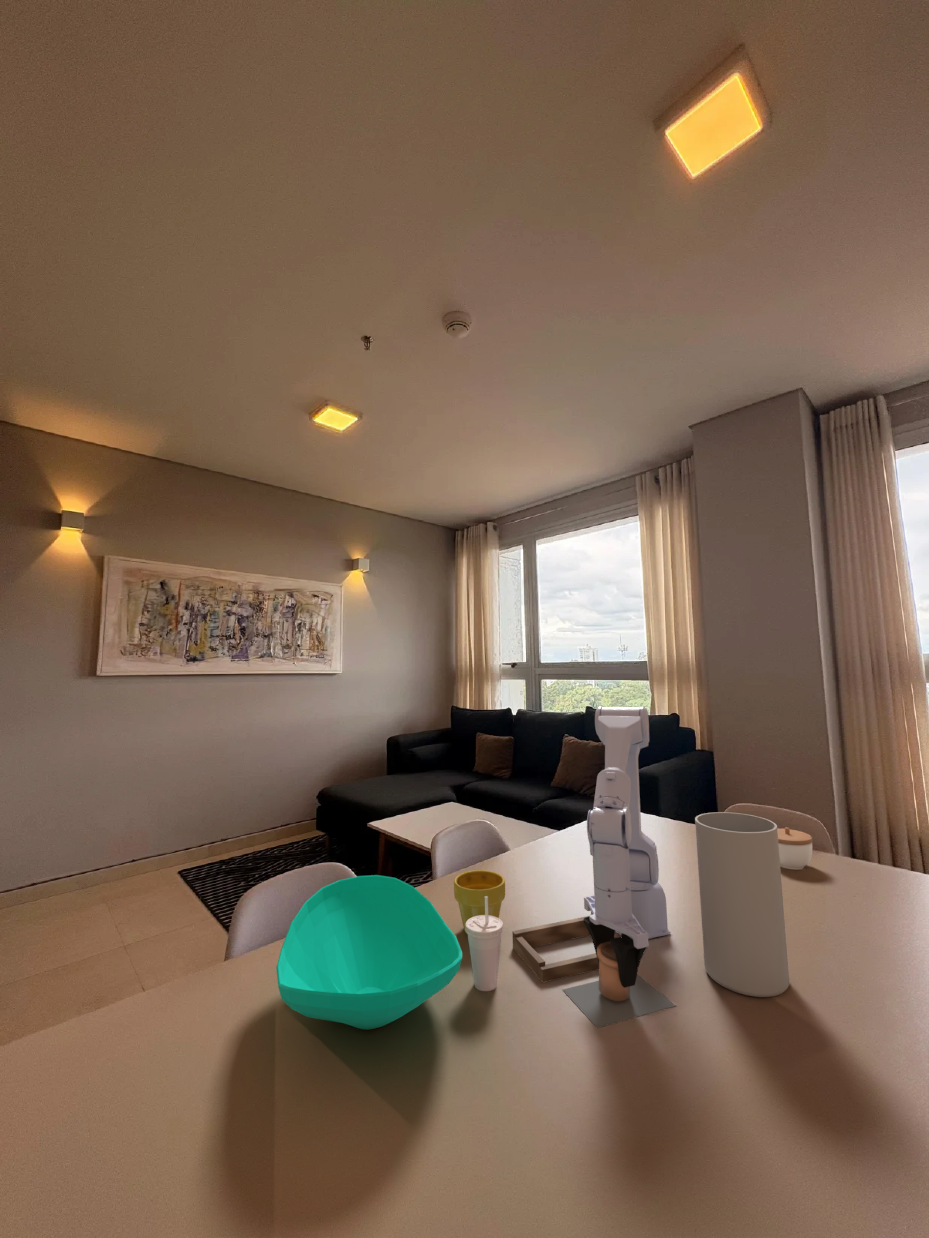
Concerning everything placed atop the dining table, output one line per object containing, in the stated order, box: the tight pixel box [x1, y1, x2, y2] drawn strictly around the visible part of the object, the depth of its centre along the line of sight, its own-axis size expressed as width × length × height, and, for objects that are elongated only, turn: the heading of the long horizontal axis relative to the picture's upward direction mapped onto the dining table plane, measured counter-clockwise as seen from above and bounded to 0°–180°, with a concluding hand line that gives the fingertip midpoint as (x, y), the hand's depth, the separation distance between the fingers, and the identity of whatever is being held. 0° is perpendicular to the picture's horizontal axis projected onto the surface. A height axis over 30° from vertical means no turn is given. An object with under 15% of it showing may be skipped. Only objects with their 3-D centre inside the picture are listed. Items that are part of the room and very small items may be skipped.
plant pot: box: [453, 869, 506, 933], centre depth 108 cm, size 10×10×10 cm
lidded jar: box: [777, 827, 813, 871], centre depth 138 cm, size 11×11×9 cm
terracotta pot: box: [597, 942, 630, 1001], centre depth 85 cm, size 6×6×6 cm
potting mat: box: [562, 973, 677, 1029], centre depth 84 cm, size 14×10×1 cm
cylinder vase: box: [694, 811, 790, 998], centre depth 90 cm, size 12×12×25 cm
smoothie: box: [464, 896, 504, 992], centre depth 89 cm, size 6×6×14 cm
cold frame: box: [511, 915, 621, 983], centre depth 98 cm, size 18×12×3 cm, turn 109°
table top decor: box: [275, 874, 463, 1030], centre depth 83 cm, size 40×28×13 cm
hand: (616, 974), depth 85 cm, fingers closed on terracotta pot, 5 cm apart
